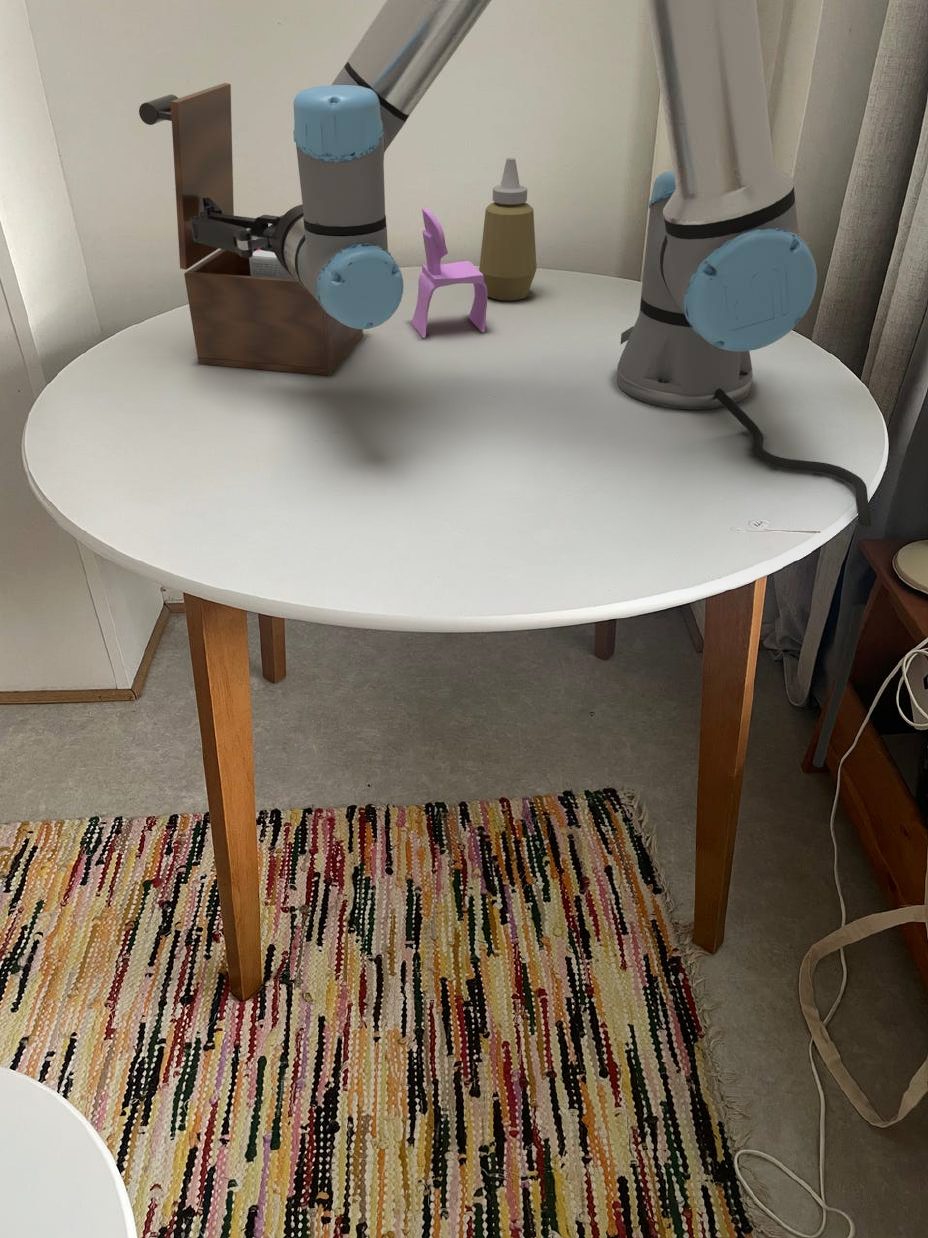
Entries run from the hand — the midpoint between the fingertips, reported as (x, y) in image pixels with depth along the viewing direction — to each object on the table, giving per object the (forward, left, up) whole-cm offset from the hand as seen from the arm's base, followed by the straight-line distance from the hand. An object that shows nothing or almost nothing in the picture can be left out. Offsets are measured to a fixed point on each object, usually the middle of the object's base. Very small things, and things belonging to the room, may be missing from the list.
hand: (265, 203), depth 117 cm
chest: (-2, 0, -17) cm, 17 cm away
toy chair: (+1, -22, -17) cm, 28 cm away
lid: (+1, +6, +3) cm, 7 cm away
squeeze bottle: (+12, -33, -17) cm, 39 cm away
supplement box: (-3, -1, -16) cm, 16 cm away
